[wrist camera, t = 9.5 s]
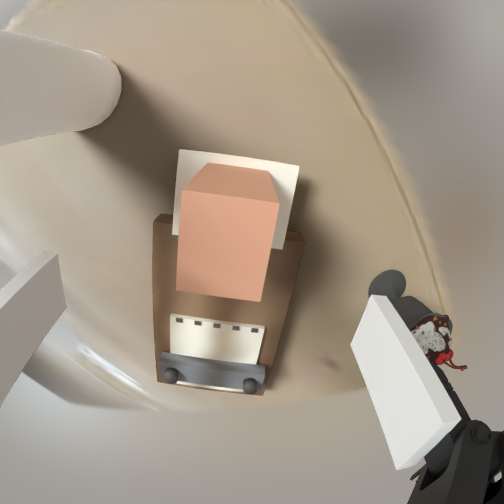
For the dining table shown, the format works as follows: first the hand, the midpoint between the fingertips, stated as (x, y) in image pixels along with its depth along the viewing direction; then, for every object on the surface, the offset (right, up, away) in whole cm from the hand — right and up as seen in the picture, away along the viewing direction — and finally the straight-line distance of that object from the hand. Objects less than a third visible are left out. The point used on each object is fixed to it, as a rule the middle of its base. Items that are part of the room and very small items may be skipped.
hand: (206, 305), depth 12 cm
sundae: (+18, -2, +22) cm, 28 cm away
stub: (0, +7, +14) cm, 16 cm away
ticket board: (-2, -5, +22) cm, 23 cm away
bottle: (-14, +18, +12) cm, 26 cm away
